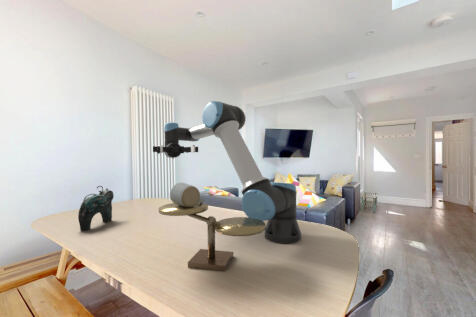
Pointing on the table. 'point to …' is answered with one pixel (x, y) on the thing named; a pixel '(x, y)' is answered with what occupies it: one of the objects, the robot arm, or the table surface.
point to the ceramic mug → (185, 195)
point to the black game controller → (95, 208)
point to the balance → (228, 226)
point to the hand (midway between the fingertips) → (178, 148)
